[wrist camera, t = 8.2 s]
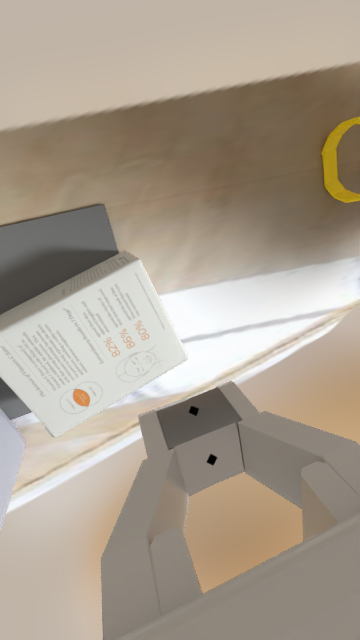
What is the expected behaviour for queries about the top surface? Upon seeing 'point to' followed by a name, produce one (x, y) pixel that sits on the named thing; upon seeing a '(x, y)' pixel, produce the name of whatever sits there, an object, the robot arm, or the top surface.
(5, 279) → the mat
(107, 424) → the top surface
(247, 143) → the top surface
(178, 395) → the top surface
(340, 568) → the robot arm
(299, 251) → the top surface
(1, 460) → the soap bottle
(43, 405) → the small box
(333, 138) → the watch
